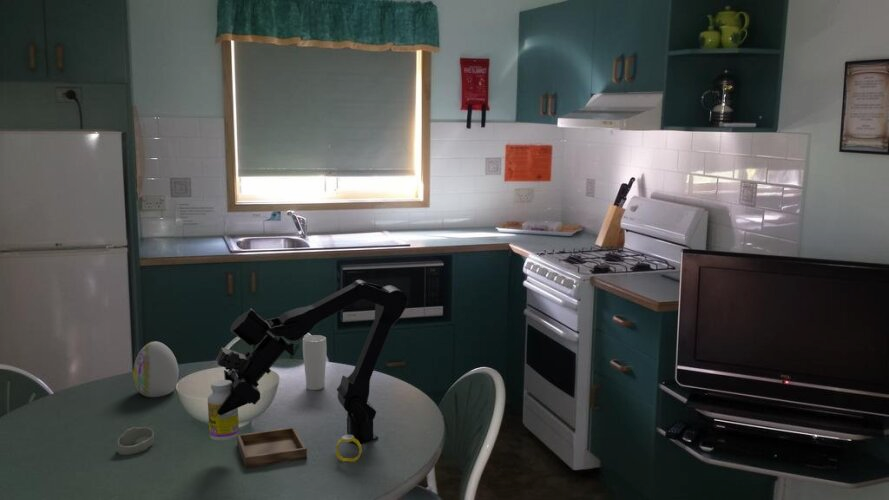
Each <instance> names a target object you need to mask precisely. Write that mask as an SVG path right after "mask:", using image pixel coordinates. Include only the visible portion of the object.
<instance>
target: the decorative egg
mask: <svg viewBox="0 0 889 500" xmlns="http://www.w3.org/2000/svg"><path fill="white" fill-rule="evenodd" d="M179 374H180V372H179V364H178V361H177V358H176V357H175V355H174V353H173V351H172V350H171V349H170V348H169V347H168V346H167V345H166V344H164V343H162V342H160V341H150V342H148V343H147V344H145V345H144V346H143V347H142V348H141V350H140V351H139V352H138V354H137V356H136V357H135V360H134V364H133V368H132V377H133V378H132V379H133V383H134V386H135V388H136V389H137V391H138V392H139V393H140V394H141V395H142V396H143V397H147V398H159V397H164V396H167V395H170V394H171V393H172V392H173V391H174V390H175V388H176V386H177V384H178V381H179Z"/></svg>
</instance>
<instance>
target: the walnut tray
mask: <svg viewBox="0 0 889 500" xmlns="http://www.w3.org/2000/svg"><path fill="white" fill-rule="evenodd" d="M236 442H237V443H236V445H237V447H238V451H239V453H240V456H241V458H242V461H243V464H244V466H245V468H246V469H249V468H255V467H261V466H269V465H275V464H276V465H277V464H282V463H287V462H288V463H289V462H294V461H303V460H307V459H308V455H307V454H308V453H307V452H308V449H307V447H306V446H305V443H304V442H303V439H302V438H301V436H300V434H299V432H298V431H297V429H296V427H295V426H292V427H286V428H278V429H271V430H264V431H256V432H248V433H241V434H240V433H239V434H238V435H237V436H236Z"/></svg>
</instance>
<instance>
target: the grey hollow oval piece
mask: <svg viewBox="0 0 889 500" xmlns="http://www.w3.org/2000/svg"><path fill="white" fill-rule="evenodd" d="M154 434H155V432H154V429H152V428H150V427H142V426H141V427H140V426H138V427H135V426H132V427H131V428H128V429H125V431H123V433H122V434H121V435H119V436H120V437H118V439H117V453H118V454H119V455H123V456H127V455H129V456H130V455H133V454H138V453H141V452H143V451H146V450H148V448H149V447H151V446H152V445H153V444H154V439H155V438H154V437H155V435H154ZM141 438H148V439H144V440H143V441H141V442H139V443H136V442H137V441H138V440H139V439H141Z"/></svg>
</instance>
